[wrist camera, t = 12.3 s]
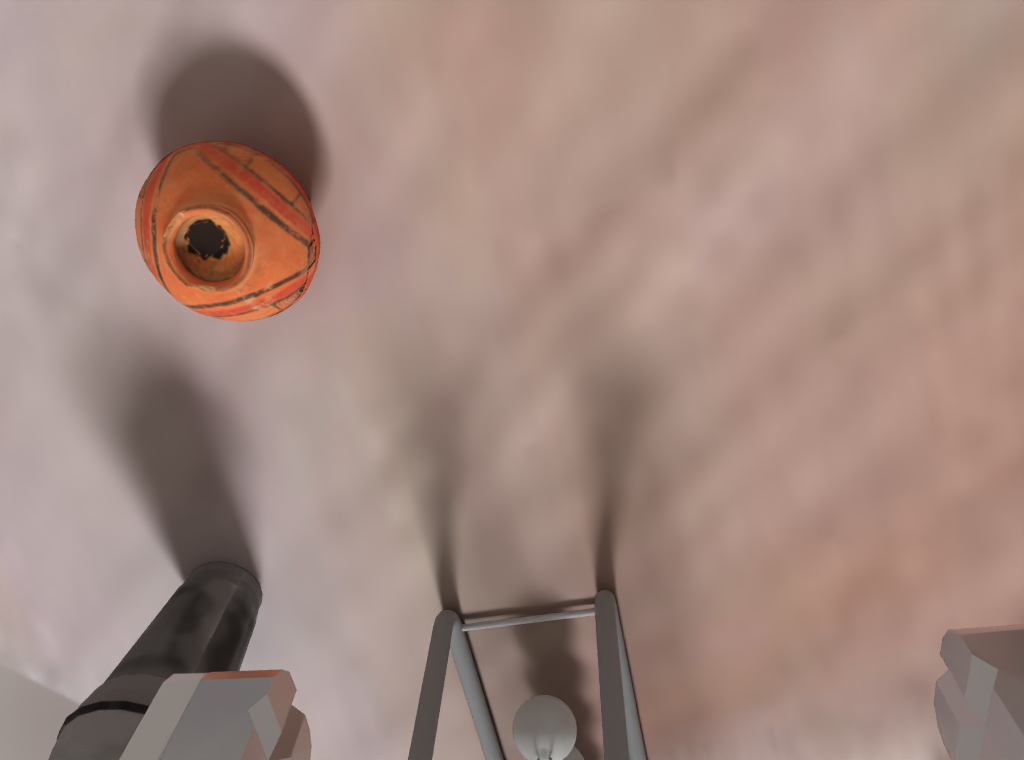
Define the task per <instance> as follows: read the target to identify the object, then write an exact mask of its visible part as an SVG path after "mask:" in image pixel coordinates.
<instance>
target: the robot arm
mask: <svg viewBox="0 0 1024 760" xmlns="http://www.w3.org/2000/svg"><path fill="white" fill-rule="evenodd" d="M940 655H941V657H942V658H943V660H944V662H945V664H946V665H947V667H948V669H949V670H948V671H947V672H946V673H944V674H943V675H942V676H941V677H940V678H939V679H938V680H937V681H936V687H935V697H934V706H935V712H936V719H937V725H938V728H939V731H940V734H941V737H942V740H943V743H944V745H945V747H946V749H947V751H948V753H949V755H950V757H951V759H952V760H1024V624H1022V625H1008V626H993V627H979V628H964V629H950V630H948V631H947V632H946V634H945V635H944V637H943V639H942V645H941V651H940ZM295 693H296V687H295V685H294V682H293V680H292V677H291V675H290V672H288V671H285V670H257V671H226V672H210V673H188V674H173V675H172V676H171V677H169V678H168V679H167V680H166V681H164V682H163V684H162V685H161V687H160V689H159V691H158V692H157V694H156V696H155V698H154V699H153V701H152V703H151V705H150V706H149V708H148V710H147V712H146V713H145V715H144V717H143V719H142V720H141V722H140V724H139V726H138V727H137V729H136V731H135V733H134V734H133V736H132V738H131V740H130V742H129V743H128V745H127V747H126V749H125V750H124V752H123V754H122V756H121V757H120V759H119V760H310V757H311V738H310V729H309V726H308V723H307V720H306V716H305V715H304V714H303V713H302V712H300V711H299V710H298V709H297V708H295V707H294V706H293V705H291V704H292V702H293V699H294V696H295Z"/></svg>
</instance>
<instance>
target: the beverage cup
mask: <svg viewBox="0 0 1024 760" xmlns="http://www.w3.org/2000/svg"><path fill="white" fill-rule="evenodd" d="M261 602H262V592H261V588H260V585H259V584H258V582H257V581H256V579H255V578H254V577H253V576H252V575H251V574H250V573H248V572H247V571H246V570H245V569H243V568H240V567H238V566H236V565H234V564H230V563H225V562H210V563H207V564H204V565H201V566H199V567H198V568H197V569H196V570H194V571H193V572H192V574H191V576H190V577H189V578H188V579H187V580H186V581H185V582H184V584H183V585H181V586H180V587H179V588H178V589H177V591H176V592H175V593H174V594H173V596H172V597H171V598H170V600H169V601H168V602H167V603H166V605H165V606H164V607H163V608H162V610H161V611H160V612H159V614H158V615H157V616H156V617H155V619H154V620H153V621H152V622H151V624H150V625H149V626H148V628H147V629H146V630H145V631H144V633H143V634H142V635H141V637H140V638H139V639H138V640H137V642H136V643H135V644H134V645H133V647H132V648H131V649H130V651H129V652H128V653H127V654H126V656H125V657H124V658H123V659H122V661H121V662H120V663H119V665H118V666H117V667H116V668H115V670H114V671H113V672H112V673H111V675H110V676H109V677H108V679H107V680H106V681H105V682H104V684H102V685H101V686H100V687H98V688H97V689H96V690H95V691H94V692H93V693H92V694H91V695H90V696H89V697H88V698H87V699H86V700H85V701H84V702H83V703H82V704H81V705H80V706H79V708H78V709H77V710H76V711H75V712H73V713H72V714H71V715H69V716H68V717H67V718H66V720H65V722H64V723H63V726H62V727H61V730H60V731H59V734H58V737H57V742H56V744H55V746H54V748H53V749H52V752H51V755H50V757H49V760H119V759H120V757H121V756H122V754H123V752H124V750H125V749H126V747H127V745H128V743H129V742H130V740H131V738H132V736H133V734H134V733H135V731H136V729H137V727H138V726H139V724H140V722H141V720H142V719H143V717H144V715H145V713H146V712H147V710H148V708H149V706H150V705H151V703H152V701H153V699H154V698H155V696H156V694H157V692H158V691H159V689H160V687H161V685H162V684H163V682H164V681H166V680H167V679H168V678H169V677H171V676H172V675H173V674H188V673H210V672H226V671H239V670H240V667H241V664H242V661H243V658H244V655H245V653H246V650H247V647H248V644H249V641H250V638H251V635H252V632H253V630H254V627H255V624H256V617H257V614H258V609H259V607H260V605H261Z"/></svg>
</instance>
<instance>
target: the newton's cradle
mask: <svg viewBox="0 0 1024 760" xmlns="http://www.w3.org/2000/svg"><path fill="white" fill-rule="evenodd" d="M592 615H595V619H596V634H597V650H598V666H599V681H600V697H601V712H602V728H603V743H604V759H605V760H646V755H645V750H644V744H643V739H642V734H641V729H640V724H639V719H638V713H637V708H636V703H635V698H634V693H633V687H632V682H631V677H630V672H629V667H628V662H627V656H626V651H625V646H624V641H623V636H622V630H621V625H620V620H619V615H618V610H617V605H616V600H615V597H614V595H613V594H612V593H611V592H610V591H608V590H601V591H599V592H598V593H597V594H596V596H595V608H592V609H584V610H576V611H568V612H560V613H552V614H543V615H535V616H527V617H519V618H511V619H503V620H495V621H487V622H479V623H471V624H463V625H462V623H461V620H460V618H459V617H458V615H457V614H456V613H455V612H454V611H451V610H443V611H441V612H440V613H439V615H438V616H437V617H436V619H435V623H434V626H433V631H432V636H431V642H430V647H429V652H428V657H427V663H426V668H425V673H424V678H423V684H422V689H421V694H420V699H419V704H418V710H417V715H416V720H415V725H414V731H413V736H412V741H411V746H410V752H409V757H408V760H432V756H433V750H434V743H435V737H436V731H437V725H438V718H439V712H440V706H441V700H442V693H443V687H444V681H445V675H446V668H447V662H448V656H449V650H450V649H451V653H452V656H453V659H454V662H455V665H456V668H457V671H458V675H459V678H460V681H461V684H462V687H463V690H464V693H465V696H466V700H467V703H468V706H469V709H470V712H471V715H472V718H473V721H474V725H475V728H476V731H477V734H478V737H479V740H480V743H481V746H482V750H483V753H484V756H485V759H486V760H504V759H503V756H502V753H501V750H500V746H499V743H498V740H497V737H496V733H495V730H494V727H493V723H492V720H491V717H490V714H489V710H488V707H487V704H486V701H485V697H484V694H483V691H482V687H481V684H480V681H479V678H478V674H477V671H476V668H475V665H474V661H473V658H472V655H471V651H470V648H469V645H468V642H467V638H466V635H465V632H464V631H470V630H478V629H486V628H494V627H502V626H510V625H519V624H527V623H535V622H543V621H551V620H559V619H567V618H576V617H584V616H592ZM576 736H577V726H576V720H575V718H574V715H573V713H572V711H571V710H570V708H569V707H568V706H567V705H566V704H565V703H564V702H563V701H561V700H560V699H558V698H556V697H554V696H550V695H538V696H535V697H532V698H530V699H529V700H527V701H526V702H524V703H523V704H522V706H521V707H520V708H519V709H518V711H517V713H516V715H515V718H514V722H513V738H514V741H515V744H516V746H517V748H518V750H519V751H520V753H521V754H522V755H523V756H524V757H525V758H527V759H528V760H584V758H583V756H582V755H581V753H580V752H579V750H578V749H577V748H576V747H574V744H575V741H576Z"/></svg>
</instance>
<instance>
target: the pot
mask: <svg viewBox="0 0 1024 760" xmlns="http://www.w3.org/2000/svg"><path fill="white" fill-rule="evenodd" d="M135 228H136V236H137V242H138V246H139V249H140V251H141V254H142V258H143V260H144V262H145V263H146V265H147V267H148V268H149V270H150V271H151V273H152V274H153V275H154V277H155V278H156V279H157V281H158V282H159V283H160V284H161V285H162V286H163V287H164V288H165V289H166V290H167V291H168V292H169V293H170V294H171V295H172V296H173V297H174V298H175V299H177V300H178V301H179V302H180V303H182V304H183V305H185V306H186V307H188V308H190V309H192V310H194V311H196V312H198V313H200V314H204V315H207V316H211V317H214V318H219V319H223V320H231V321H253V320H259V319H263V318H267V317H270V316H273V315H276V314H278V313H280V312H282V311H284V310H285V309H287V308H288V307H290V306H291V305H293V304H294V303H296V302H297V301H298V300H299V299H300V298H301V297H302V296H303V295H304V293H305V292H306V290H307V289H308V287H309V285H310V283H311V281H312V278H313V276H314V274H315V271H316V268H317V264H318V259H319V254H320V235H319V231H318V226H317V222H316V219H315V216H314V213H313V210H312V206H311V203H310V201H309V200H308V198H307V196H306V194H305V192H304V191H303V189H302V187H301V186H300V185H299V183H298V182H297V181H296V180H295V179H294V177H293V176H292V175H291V174H290V173H289V172H288V171H287V170H286V169H285V168H284V167H282V166H281V165H280V164H279V163H277V162H276V161H274V160H273V159H272V158H270V157H269V156H267V155H265V154H263V153H261V152H259V151H257V150H255V149H252V148H250V147H248V146H246V145H243V144H239V143H233V142H214V141H212V142H199V143H193V144H190V145H187V146H184V147H182V148H179V149H177V150H175V151H174V152H172V153H170V154H169V155H167V156H166V157H165V158H163V159H162V160H161V161H160V162H159V163H158V164H157V165H156V167H155V168H154V169H153V171H152V172H151V173H150V175H149V177H148V178H147V180H146V181H145V183H144V185H143V187H142V189H141V191H140V193H139V196H138V200H137V204H136V212H135Z"/></svg>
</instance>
